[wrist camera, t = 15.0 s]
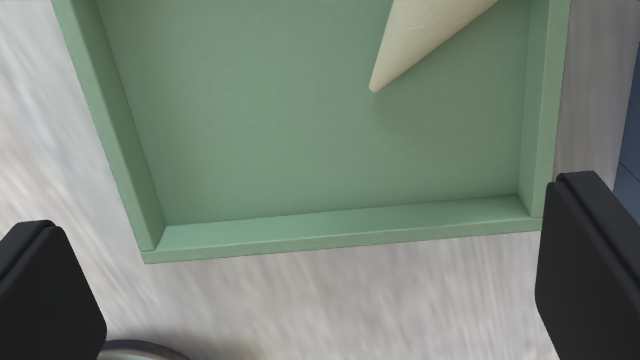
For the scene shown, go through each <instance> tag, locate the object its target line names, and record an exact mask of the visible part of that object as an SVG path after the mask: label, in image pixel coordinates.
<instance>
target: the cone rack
mask: <svg viewBox="0 0 640 360" xmlns="http://www.w3.org/2000/svg"><path fill="white" fill-rule="evenodd" d="M613 194H614V195H615V196H616V198H617V199H618V200H619V201H620V202H621V204H622V205H623V206H624V207H625V208H626V210H627V211H628V212H629V213H630V214H631V216H632V217H633V218H634V219H635V220H636V222H637V223H638V224H639V225H640V42H639V47H638V53H637V59H636V64H635V70H634V76H633V82H632V88H631V93H630V99H629V105H628V111H627V117H626V122H625V128H624V134H623V140H622V146H621V151H620V157H619V162H618V168H617V174H616V180H615V185H614V191H613Z"/></svg>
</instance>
